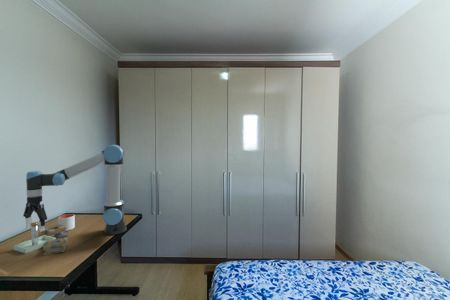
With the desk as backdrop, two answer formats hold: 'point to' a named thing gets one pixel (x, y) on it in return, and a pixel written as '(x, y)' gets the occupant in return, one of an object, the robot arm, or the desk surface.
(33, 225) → the lock pin
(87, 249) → the desk surface
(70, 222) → the cup
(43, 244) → the tray
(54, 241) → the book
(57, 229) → the block
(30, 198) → the robot arm
